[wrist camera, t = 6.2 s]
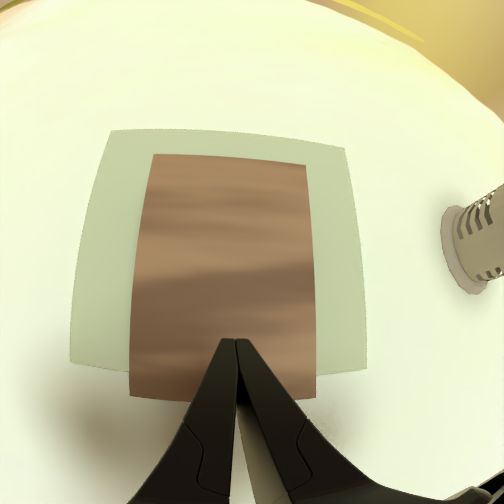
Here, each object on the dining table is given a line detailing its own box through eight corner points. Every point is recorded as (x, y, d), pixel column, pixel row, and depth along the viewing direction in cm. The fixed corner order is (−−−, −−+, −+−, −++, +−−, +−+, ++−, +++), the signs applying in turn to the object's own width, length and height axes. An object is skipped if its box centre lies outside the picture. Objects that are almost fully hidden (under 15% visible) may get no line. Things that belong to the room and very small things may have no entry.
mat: (364, 368, 17) (366, 368, 17) (71, 361, 14) (69, 361, 14) (342, 149, 22) (344, 148, 22) (112, 132, 20) (111, 130, 19)
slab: (315, 397, 12) (305, 165, 16) (129, 395, 11) (153, 153, 15) (292, 385, 16) (288, 195, 20) (147, 382, 15) (162, 187, 18)
